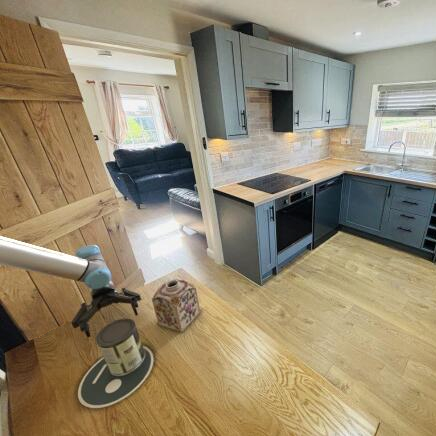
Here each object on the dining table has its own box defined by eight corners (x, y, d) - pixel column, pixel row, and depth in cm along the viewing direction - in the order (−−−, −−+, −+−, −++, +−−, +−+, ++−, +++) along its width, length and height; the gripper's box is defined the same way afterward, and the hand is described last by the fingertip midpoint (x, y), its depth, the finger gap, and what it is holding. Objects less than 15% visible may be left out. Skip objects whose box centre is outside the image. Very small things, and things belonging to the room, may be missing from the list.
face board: (60, 412, 66) (59, 410, 66) (105, 347, 85) (104, 346, 84) (135, 406, 68) (134, 404, 68) (163, 344, 86) (163, 342, 86)
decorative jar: (181, 333, 91) (173, 297, 83) (157, 325, 94) (147, 289, 86) (201, 311, 101) (195, 277, 94) (179, 304, 104) (171, 271, 97)
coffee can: (125, 345, 85) (113, 316, 79) (152, 348, 84) (142, 319, 78) (101, 374, 75) (86, 343, 70) (131, 378, 74) (118, 347, 69)
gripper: (140, 284, 104) (155, 312, 90) (64, 314, 88) (68, 353, 74) (136, 270, 101) (151, 296, 87) (57, 298, 85) (59, 336, 71)
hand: (113, 322), depth 81 cm, fingers open, 13 cm apart
